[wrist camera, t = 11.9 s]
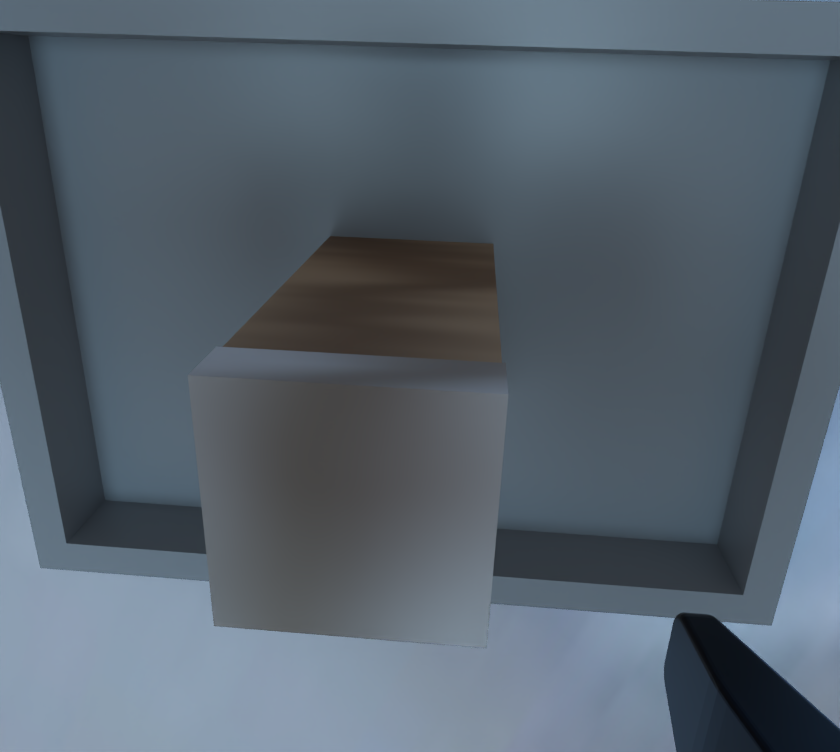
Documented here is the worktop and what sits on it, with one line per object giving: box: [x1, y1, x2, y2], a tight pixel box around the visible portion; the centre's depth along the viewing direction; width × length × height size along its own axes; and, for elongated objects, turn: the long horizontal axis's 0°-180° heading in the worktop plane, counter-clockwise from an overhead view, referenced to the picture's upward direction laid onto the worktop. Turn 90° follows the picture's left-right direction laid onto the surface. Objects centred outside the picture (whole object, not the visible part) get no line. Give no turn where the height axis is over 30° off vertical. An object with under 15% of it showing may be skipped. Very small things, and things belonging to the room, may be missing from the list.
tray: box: [0, 0, 840, 625], centre depth 19 cm, size 22×16×3 cm
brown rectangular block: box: [188, 236, 508, 648], centre depth 16 cm, size 5×5×10 cm
